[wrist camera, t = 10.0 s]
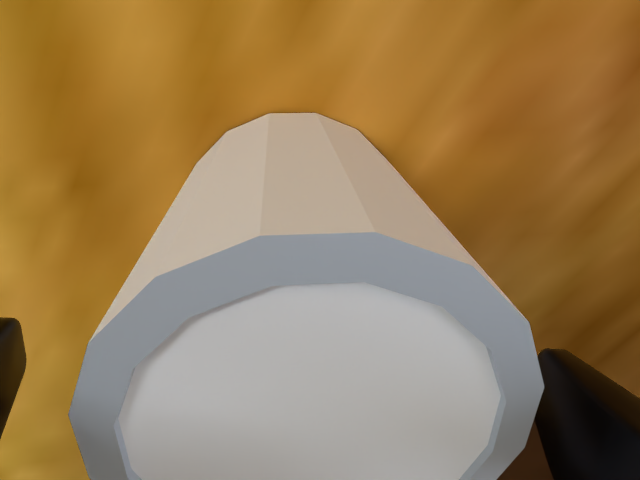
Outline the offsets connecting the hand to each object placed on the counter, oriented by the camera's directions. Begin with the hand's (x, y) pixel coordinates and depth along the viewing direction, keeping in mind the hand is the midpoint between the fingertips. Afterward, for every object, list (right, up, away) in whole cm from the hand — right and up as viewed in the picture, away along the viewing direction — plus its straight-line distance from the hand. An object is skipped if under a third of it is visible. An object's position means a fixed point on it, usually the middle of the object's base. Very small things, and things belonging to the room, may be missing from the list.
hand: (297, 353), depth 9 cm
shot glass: (0, +3, +5) cm, 6 cm away
